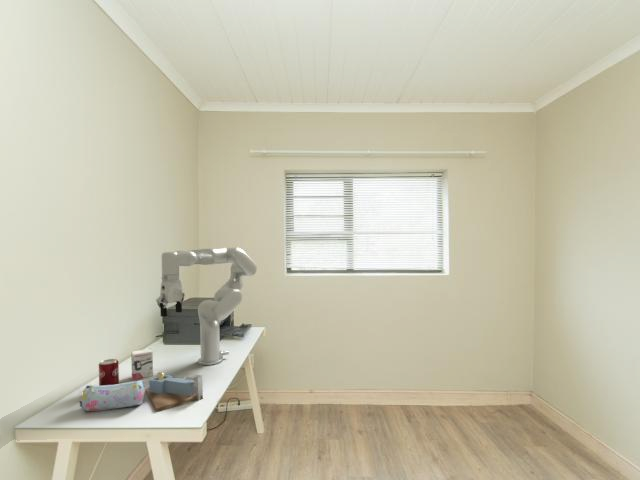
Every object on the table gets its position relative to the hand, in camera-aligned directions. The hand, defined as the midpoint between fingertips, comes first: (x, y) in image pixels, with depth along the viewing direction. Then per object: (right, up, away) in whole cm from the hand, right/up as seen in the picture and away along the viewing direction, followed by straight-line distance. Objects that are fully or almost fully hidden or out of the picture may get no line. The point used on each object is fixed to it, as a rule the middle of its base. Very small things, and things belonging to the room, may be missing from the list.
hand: (171, 314), depth 167 cm
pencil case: (-8, -29, -32) cm, 44 cm away
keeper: (+20, -28, -26) cm, 43 cm away
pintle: (+4, -28, -21) cm, 35 cm away
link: (+10, -27, -22) cm, 37 cm away
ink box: (-13, -29, -2) cm, 32 cm away
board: (+10, -28, -23) cm, 38 cm away
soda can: (-20, -29, -16) cm, 39 cm away
